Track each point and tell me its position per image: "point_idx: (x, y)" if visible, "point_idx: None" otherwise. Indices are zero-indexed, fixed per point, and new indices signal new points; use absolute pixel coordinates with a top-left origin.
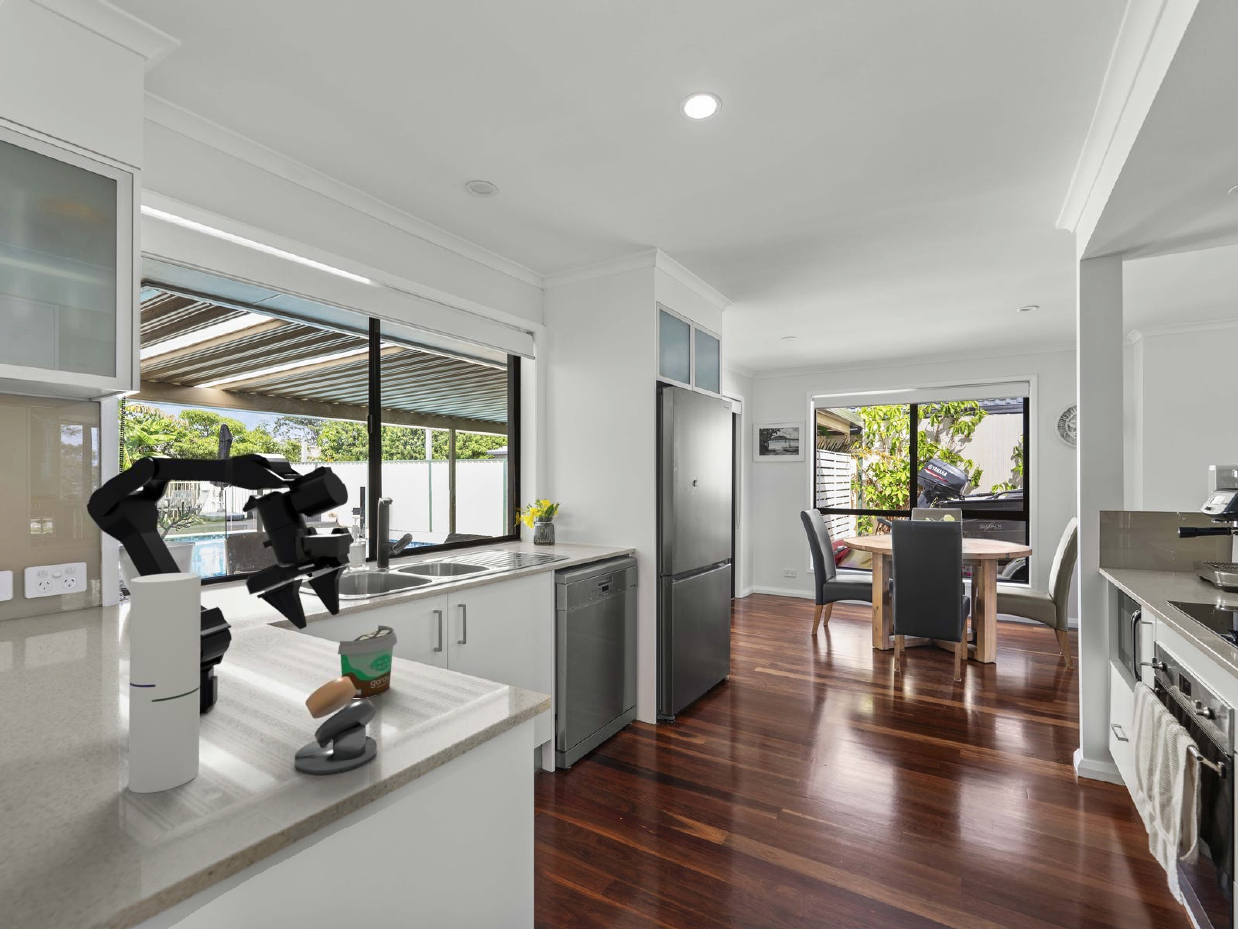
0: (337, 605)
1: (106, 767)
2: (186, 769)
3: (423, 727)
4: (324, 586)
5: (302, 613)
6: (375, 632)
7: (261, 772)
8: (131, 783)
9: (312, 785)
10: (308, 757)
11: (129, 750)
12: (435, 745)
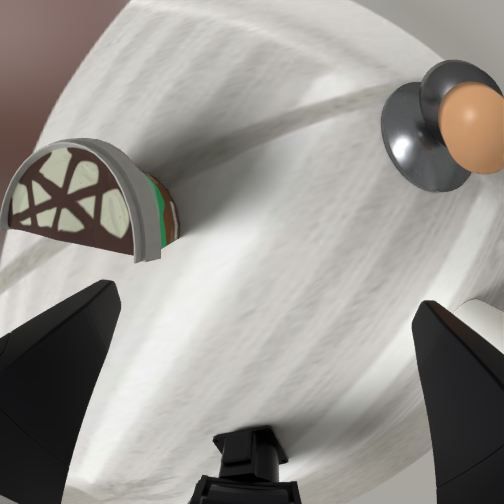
0: (85, 298)
1: (424, 411)
2: (488, 304)
3: (312, 41)
4: (32, 437)
5: (472, 337)
6: (22, 224)
7: (467, 223)
8: None
9: None
10: (458, 166)
11: None
12: (370, 21)
